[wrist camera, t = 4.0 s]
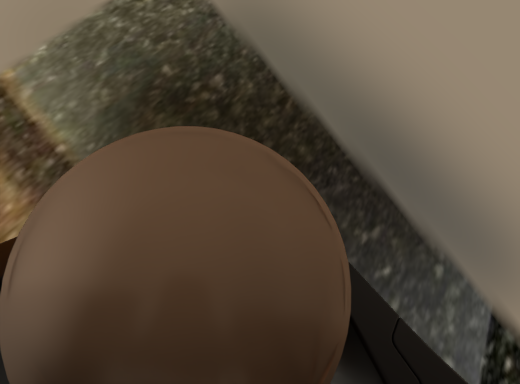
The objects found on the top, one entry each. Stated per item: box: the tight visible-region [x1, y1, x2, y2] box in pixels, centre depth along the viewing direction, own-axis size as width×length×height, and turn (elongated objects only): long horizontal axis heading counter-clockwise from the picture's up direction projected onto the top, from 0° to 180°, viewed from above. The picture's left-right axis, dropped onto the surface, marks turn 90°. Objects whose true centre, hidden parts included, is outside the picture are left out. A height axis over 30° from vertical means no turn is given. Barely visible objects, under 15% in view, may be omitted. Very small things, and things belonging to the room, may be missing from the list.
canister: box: [0, 126, 351, 384], centre depth 10 cm, size 6×6×10 cm
